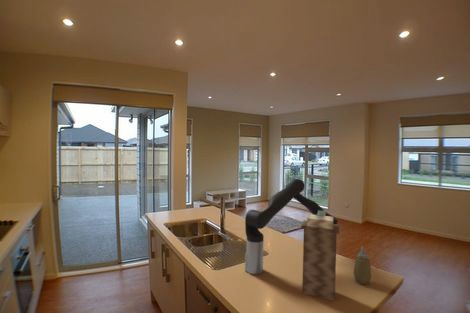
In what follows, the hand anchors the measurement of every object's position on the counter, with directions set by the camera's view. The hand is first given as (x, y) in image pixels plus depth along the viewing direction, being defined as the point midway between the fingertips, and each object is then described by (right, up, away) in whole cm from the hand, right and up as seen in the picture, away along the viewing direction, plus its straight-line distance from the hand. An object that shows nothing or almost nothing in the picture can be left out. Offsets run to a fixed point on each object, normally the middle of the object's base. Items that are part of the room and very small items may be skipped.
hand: (322, 218), depth 130 cm
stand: (-8, -30, -18) cm, 36 cm away
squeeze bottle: (+17, -31, -7) cm, 36 cm away
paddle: (-6, +2, -14) cm, 15 cm away
